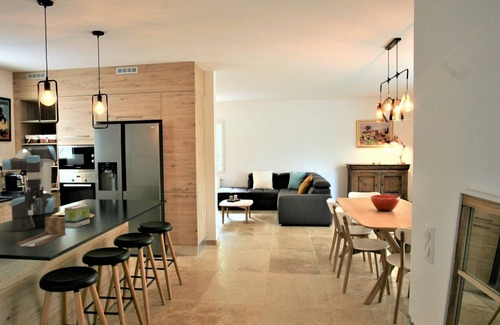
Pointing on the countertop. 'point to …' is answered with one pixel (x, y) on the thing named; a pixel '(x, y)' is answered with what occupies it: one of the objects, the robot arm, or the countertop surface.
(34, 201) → the box
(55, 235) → the track
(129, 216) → the countertop surface
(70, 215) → the tea box
